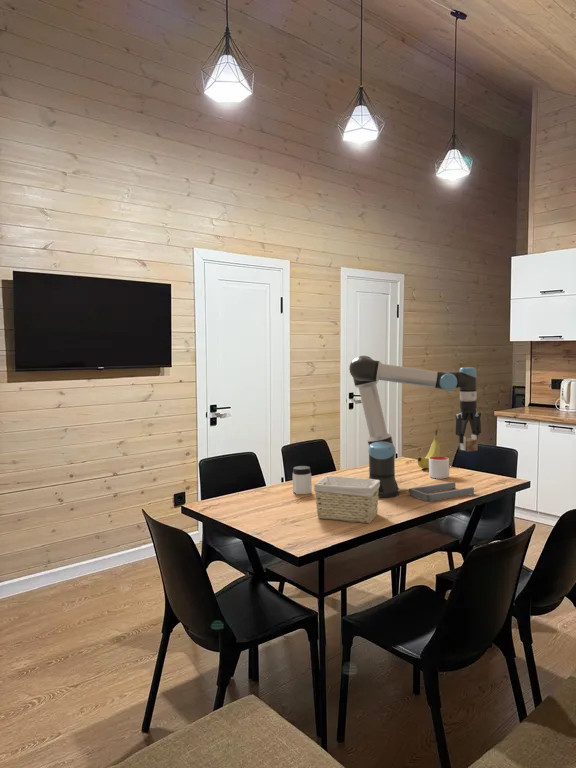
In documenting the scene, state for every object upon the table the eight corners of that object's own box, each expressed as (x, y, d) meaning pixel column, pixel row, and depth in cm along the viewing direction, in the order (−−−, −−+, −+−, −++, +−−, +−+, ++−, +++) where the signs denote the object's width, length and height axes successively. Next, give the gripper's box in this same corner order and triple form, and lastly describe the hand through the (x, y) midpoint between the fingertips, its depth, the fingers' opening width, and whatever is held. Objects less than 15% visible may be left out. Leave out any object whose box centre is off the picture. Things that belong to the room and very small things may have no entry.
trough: (428, 501, 247) (427, 495, 247) (409, 495, 259) (409, 488, 259) (473, 494, 258) (473, 487, 258) (453, 488, 270) (453, 481, 270)
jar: (314, 493, 266) (313, 468, 266) (297, 495, 264) (297, 470, 263) (306, 489, 275) (306, 465, 274) (291, 491, 272) (290, 466, 271)
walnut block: (467, 451, 263) (467, 441, 263) (458, 449, 269) (458, 439, 268) (477, 450, 266) (477, 439, 265) (468, 448, 271) (468, 438, 271)
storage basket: (381, 513, 232) (381, 478, 231) (372, 525, 217) (371, 487, 216) (326, 509, 241) (325, 474, 240) (313, 520, 226) (312, 483, 225)
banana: (423, 471, 307) (423, 435, 306) (414, 470, 311) (413, 434, 310) (442, 464, 325) (442, 429, 323) (433, 463, 328) (432, 429, 327)
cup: (425, 476, 296) (424, 457, 295) (440, 474, 300) (440, 455, 299) (437, 480, 287) (437, 460, 286) (453, 478, 291) (453, 458, 290)
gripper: (457, 402, 258) (458, 452, 260) (489, 399, 266) (489, 448, 268) (446, 401, 265) (447, 450, 266) (477, 398, 273) (478, 446, 274)
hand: (468, 449), depth 267 cm, fingers closed on walnut block, 6 cm apart
